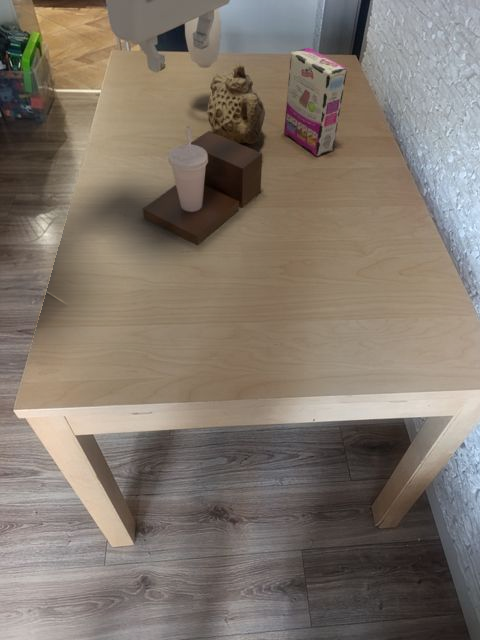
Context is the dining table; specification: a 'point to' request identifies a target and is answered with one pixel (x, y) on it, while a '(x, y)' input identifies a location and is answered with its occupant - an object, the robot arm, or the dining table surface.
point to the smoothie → (189, 173)
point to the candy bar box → (314, 100)
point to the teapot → (235, 107)
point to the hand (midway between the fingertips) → (180, 58)
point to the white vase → (211, 52)
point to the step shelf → (212, 190)
